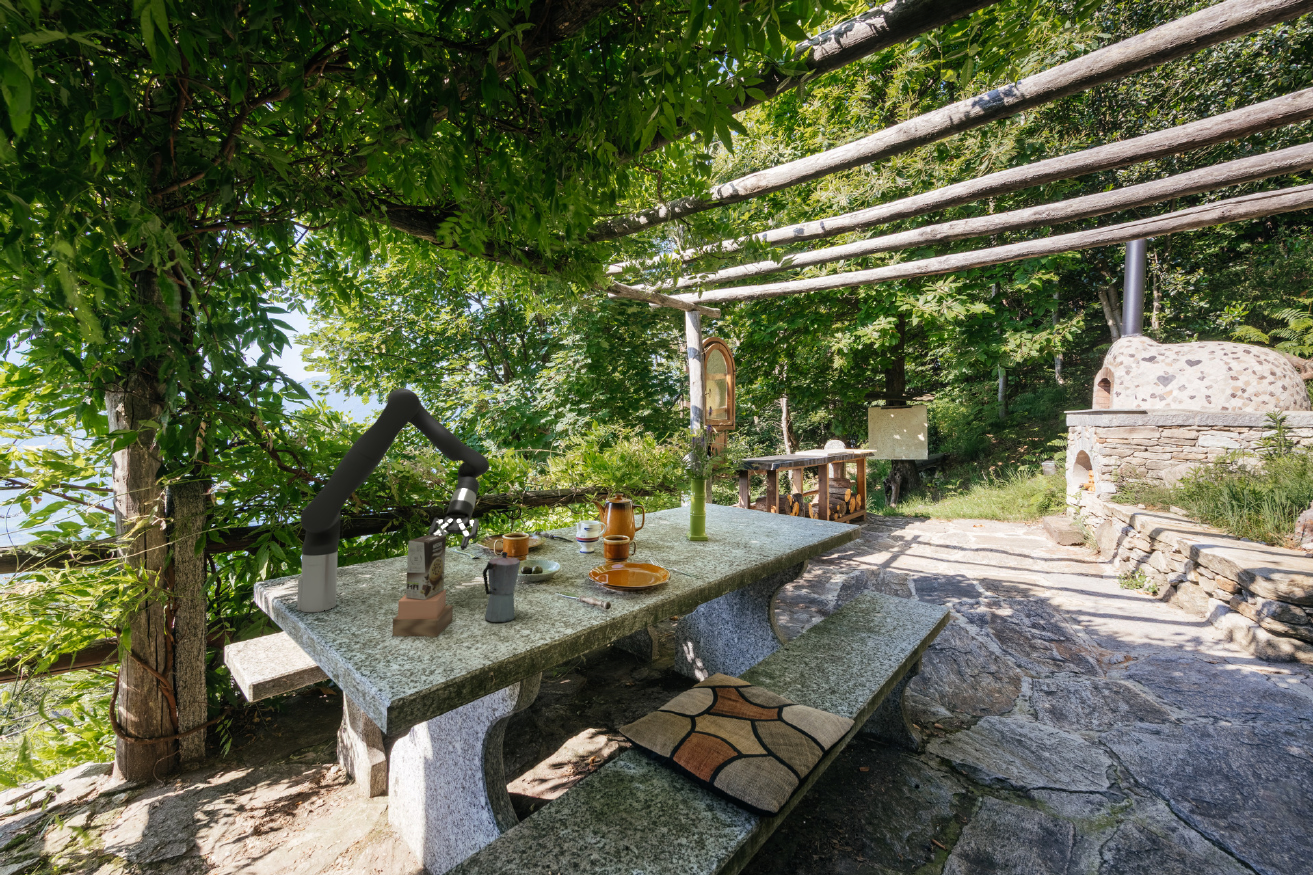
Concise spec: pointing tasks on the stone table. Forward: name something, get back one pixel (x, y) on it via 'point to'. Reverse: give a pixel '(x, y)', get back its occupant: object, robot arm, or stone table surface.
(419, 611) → the tower top block
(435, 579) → the coffee box
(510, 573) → the moka pot
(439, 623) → the tower base block
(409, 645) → the stone table surface
